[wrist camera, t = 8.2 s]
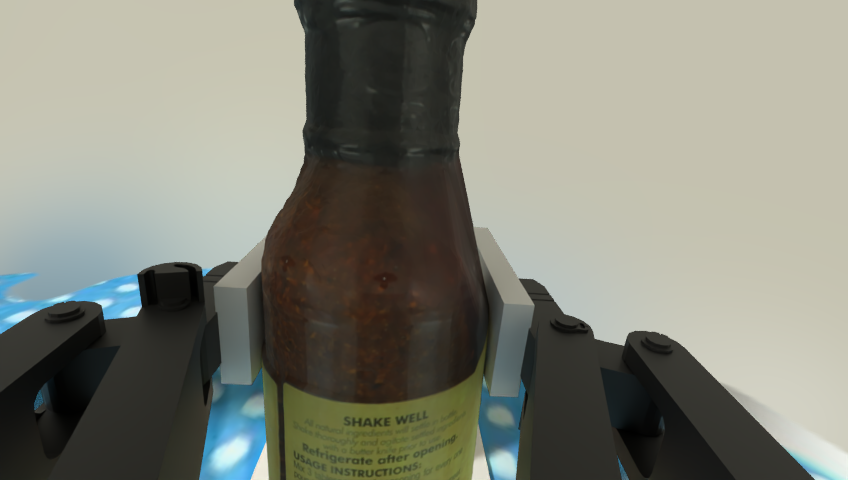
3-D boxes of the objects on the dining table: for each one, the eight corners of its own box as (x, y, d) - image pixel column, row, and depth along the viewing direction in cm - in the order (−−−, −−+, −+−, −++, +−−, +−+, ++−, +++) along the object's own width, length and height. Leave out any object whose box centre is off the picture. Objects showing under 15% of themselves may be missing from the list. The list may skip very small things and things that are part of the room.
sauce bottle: (488, 600, 15) (616, -29, 9) (345, 783, 11) (405, -186, 5) (374, 482, 19) (408, -1, 13) (238, 580, 15) (195, -71, 9)
